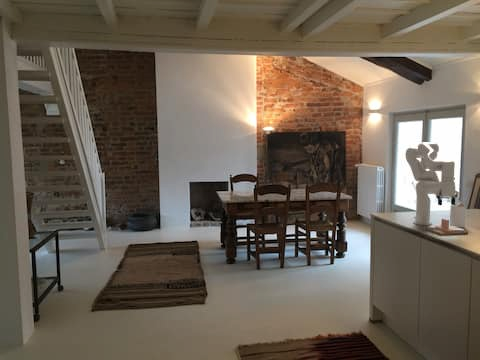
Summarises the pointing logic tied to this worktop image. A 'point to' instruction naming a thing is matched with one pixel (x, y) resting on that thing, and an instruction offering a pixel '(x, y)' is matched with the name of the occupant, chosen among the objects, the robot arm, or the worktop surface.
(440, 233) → the board
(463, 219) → the milk carton
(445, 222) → the stub
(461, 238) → the worktop surface
